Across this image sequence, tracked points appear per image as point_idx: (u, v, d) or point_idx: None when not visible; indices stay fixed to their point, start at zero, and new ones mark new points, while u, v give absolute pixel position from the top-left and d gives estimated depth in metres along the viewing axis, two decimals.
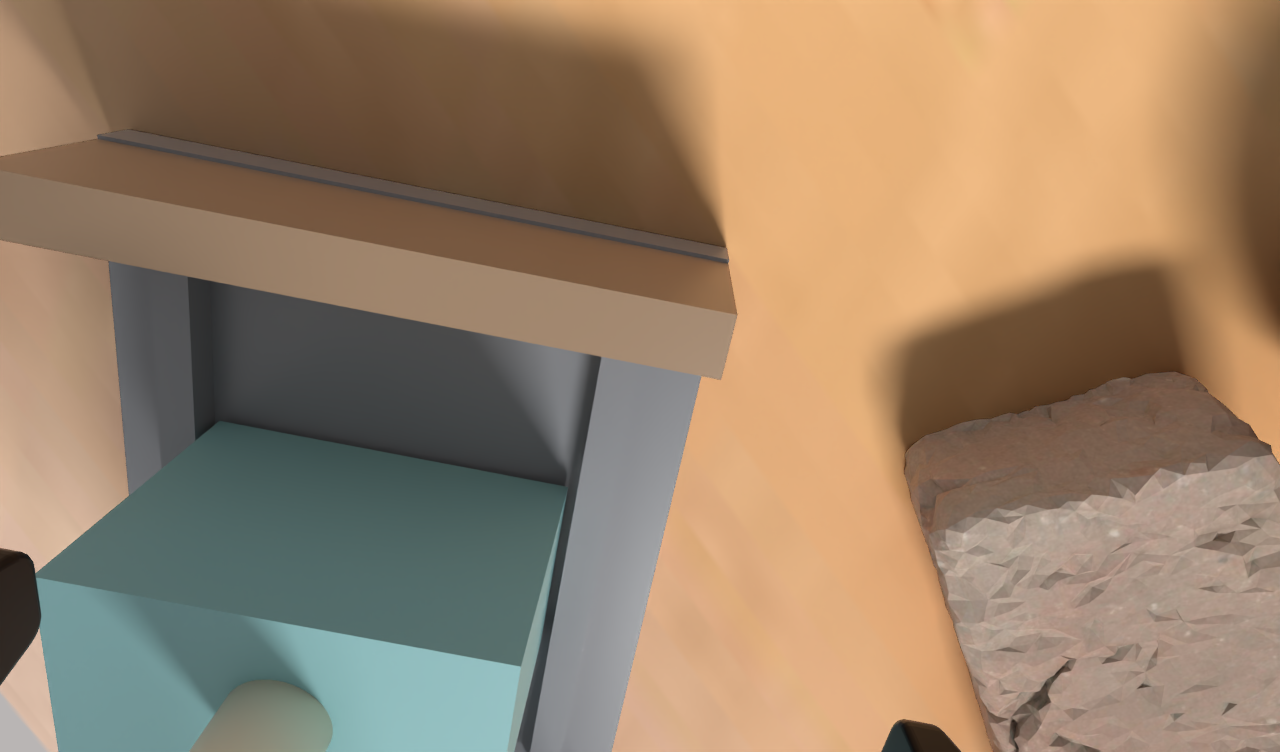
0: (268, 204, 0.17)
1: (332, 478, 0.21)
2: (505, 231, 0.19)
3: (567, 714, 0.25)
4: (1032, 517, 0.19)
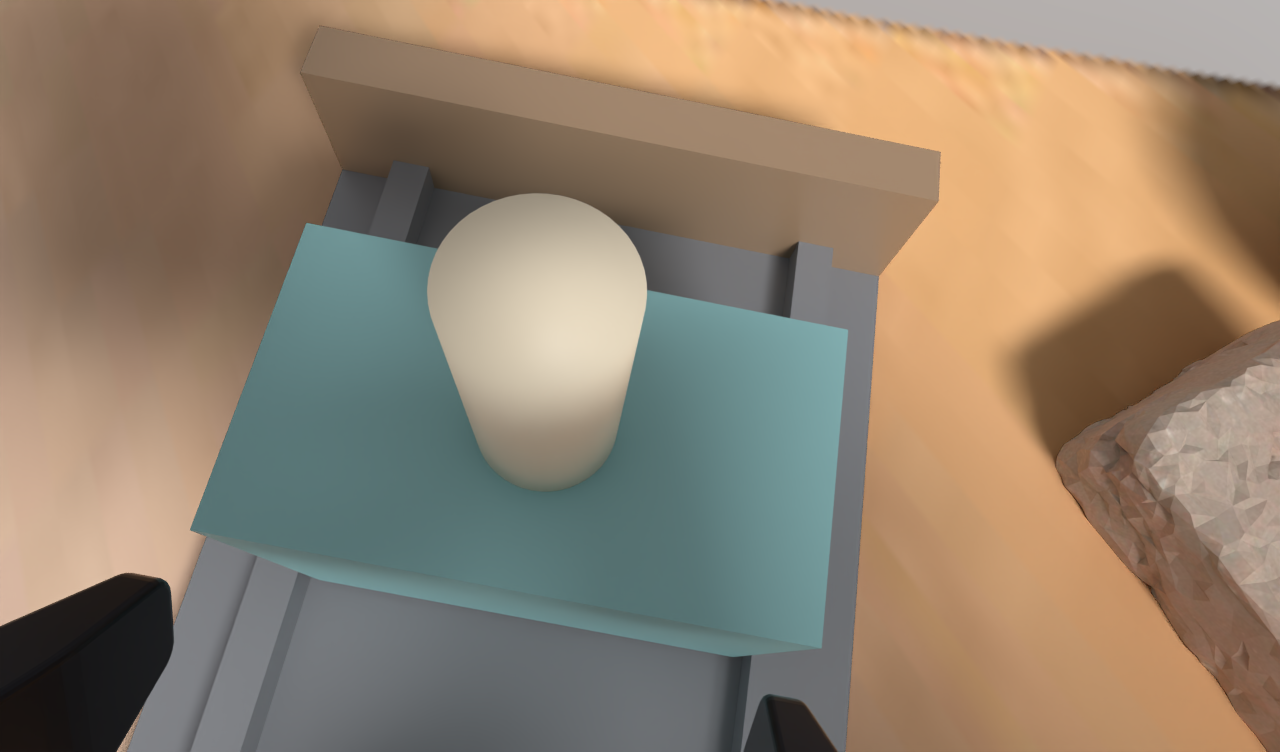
0: None
1: None
2: None
3: None
4: (1214, 399, 0.20)
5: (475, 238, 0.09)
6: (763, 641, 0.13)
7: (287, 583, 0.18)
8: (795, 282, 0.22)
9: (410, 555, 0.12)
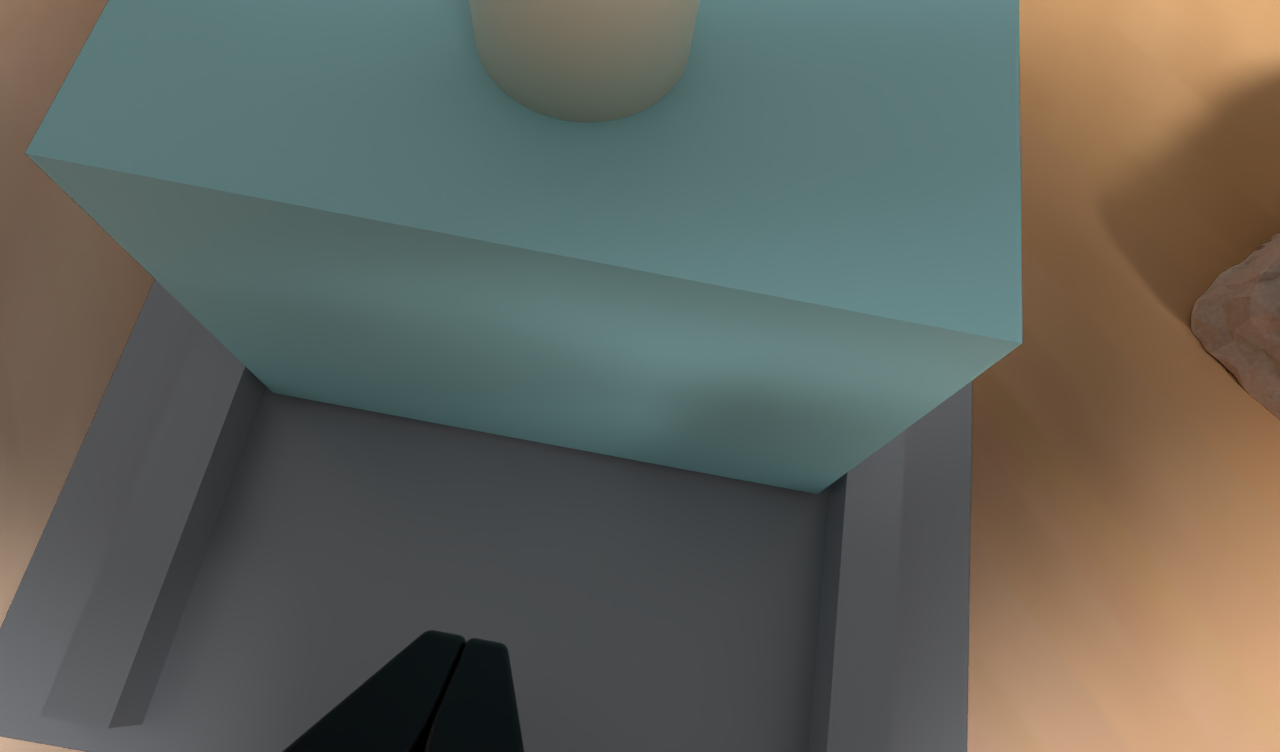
0: None
1: None
2: None
3: (893, 632, 0.13)
4: None
5: None
6: (917, 358, 0.09)
7: (228, 387, 0.14)
8: None
9: (373, 198, 0.08)
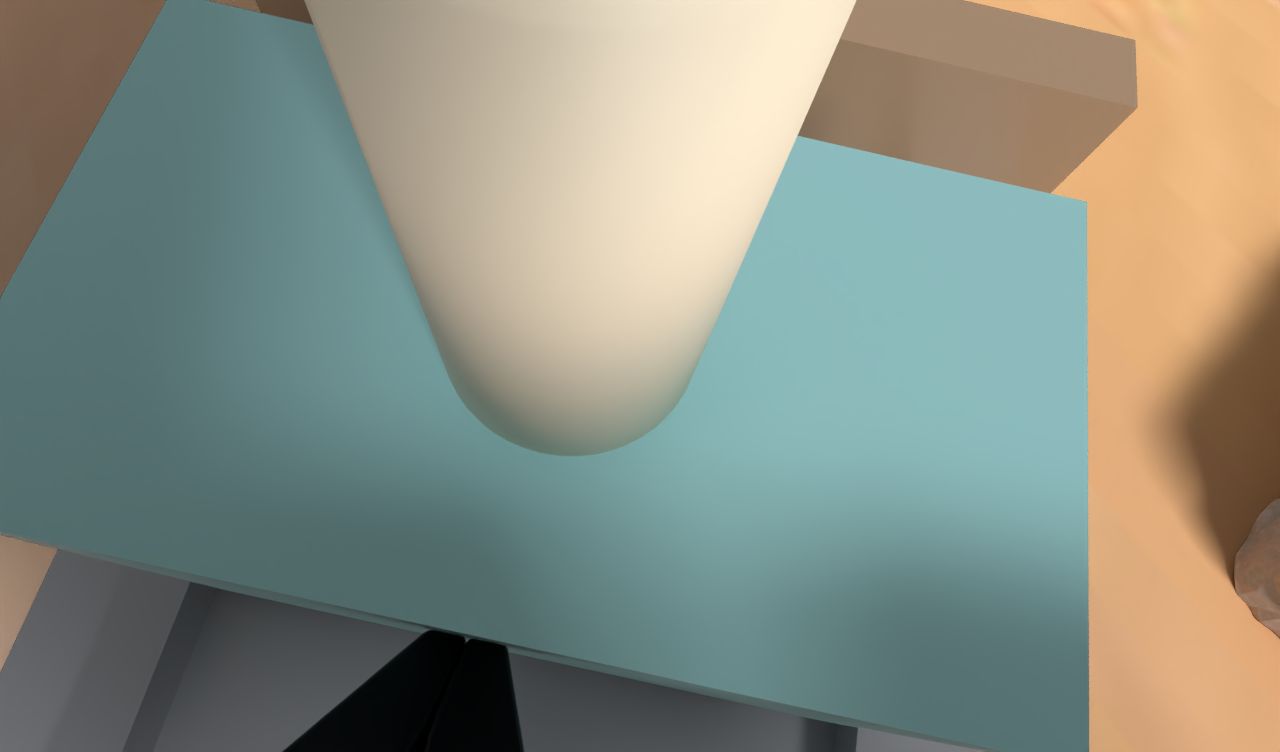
0: None
1: None
2: None
3: None
4: None
5: None
6: (956, 743, 0.07)
7: (152, 648, 0.12)
8: None
9: (305, 567, 0.07)
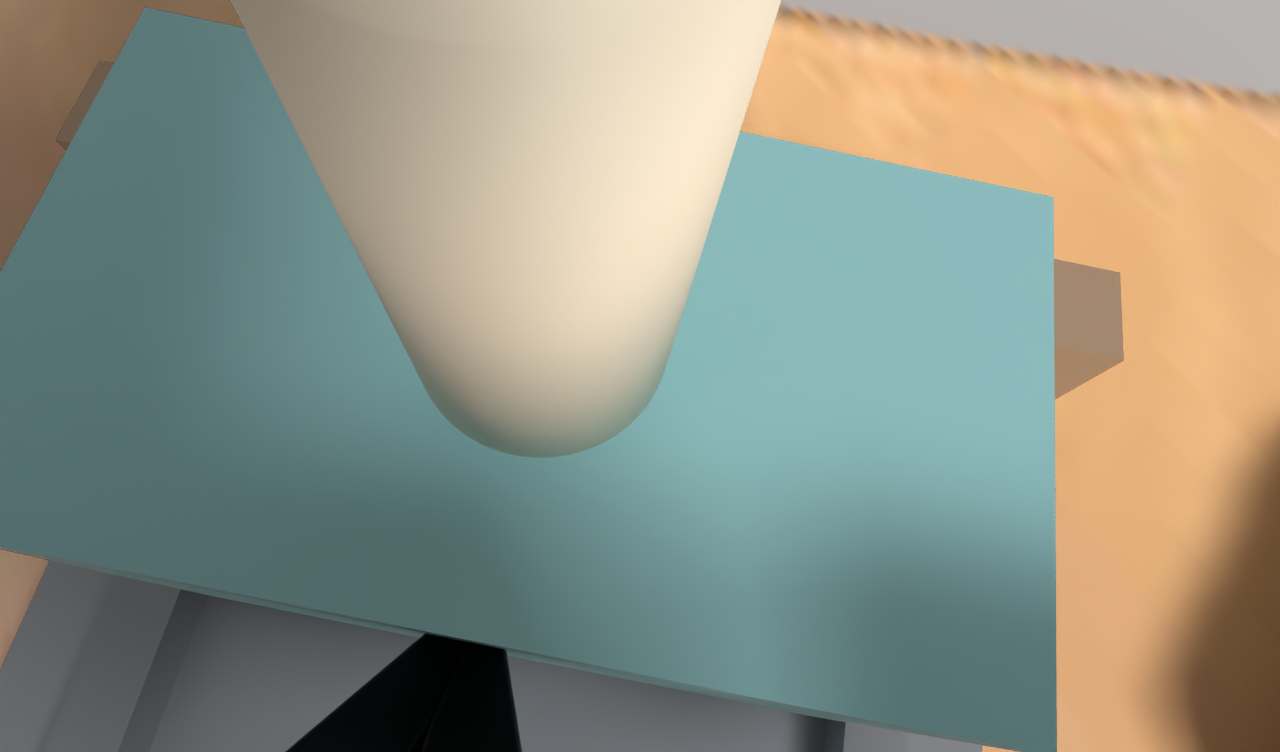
0: None
1: None
2: None
3: None
4: None
5: None
6: (929, 733, 0.07)
7: None
8: None
9: (282, 572, 0.07)
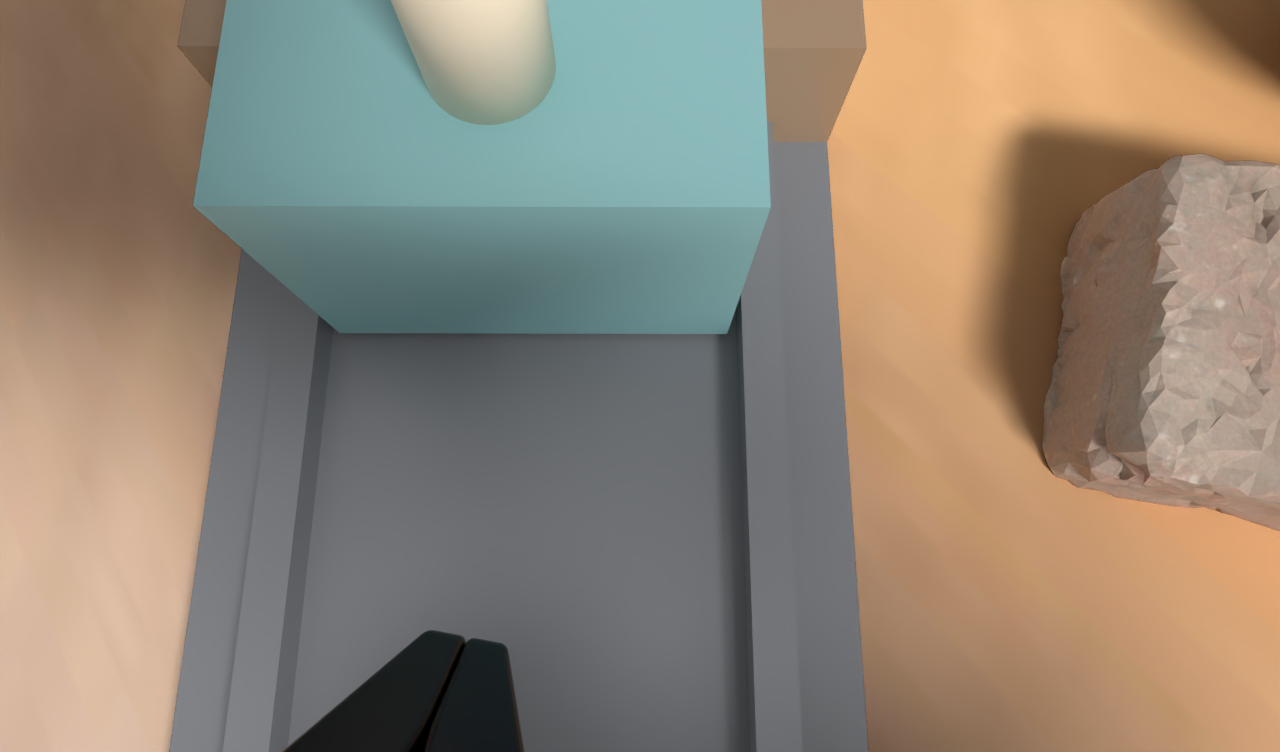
0: None
1: None
2: None
3: (795, 654, 0.18)
4: (1165, 363, 0.18)
5: None
6: (722, 226, 0.14)
7: (283, 561, 0.18)
8: None
9: (389, 194, 0.14)
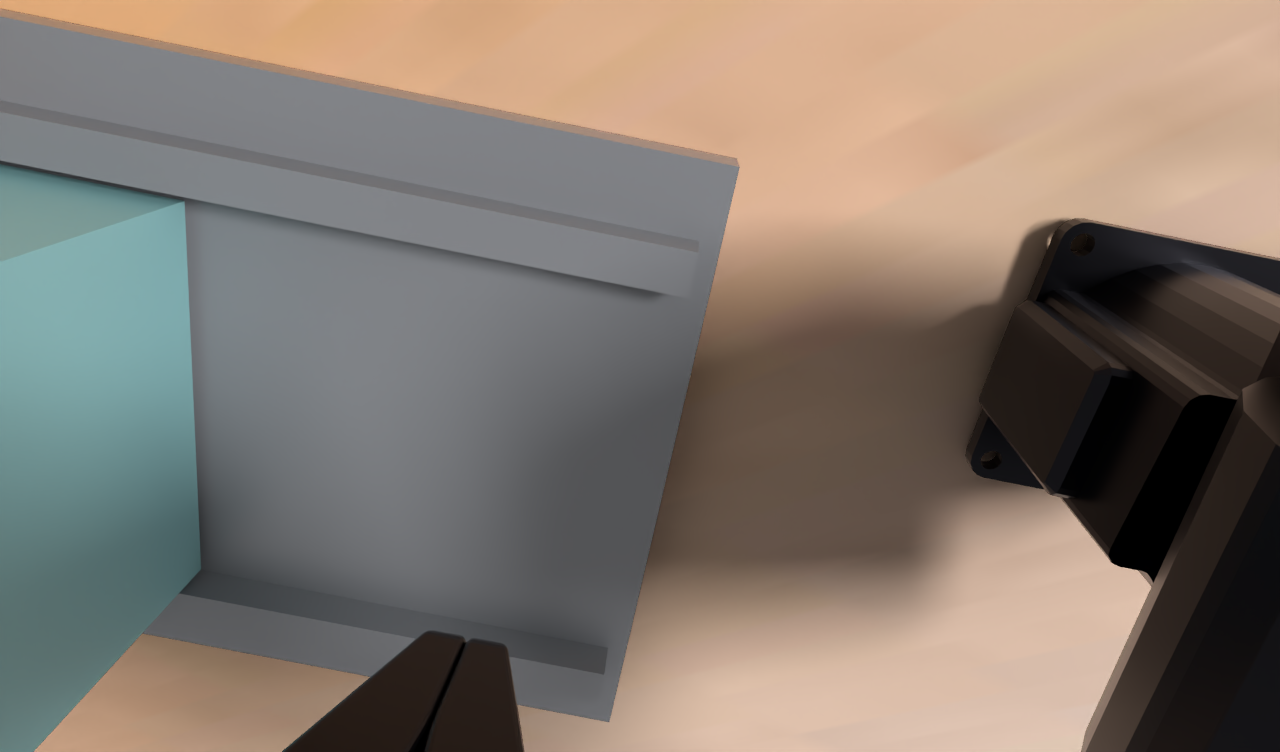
0: None
1: None
2: None
3: (538, 222, 0.16)
4: None
5: None
6: None
7: (403, 640, 0.21)
8: None
9: None
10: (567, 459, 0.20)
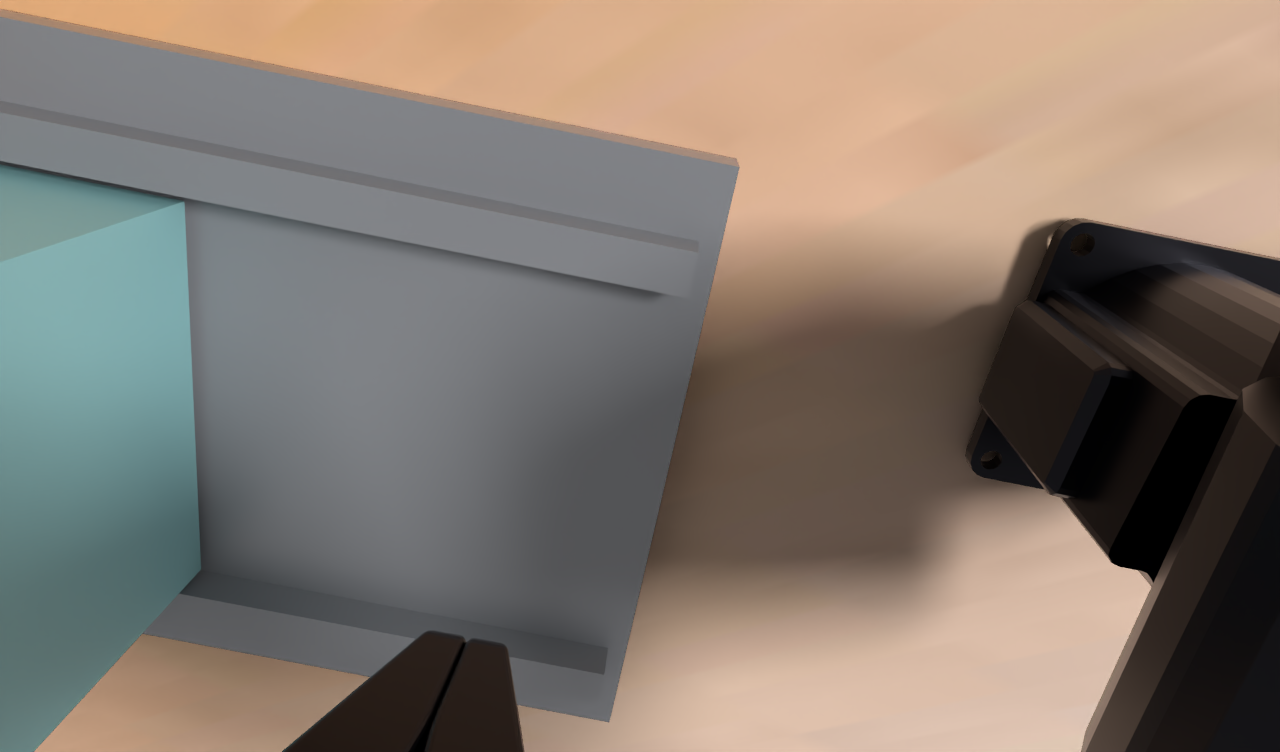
0: None
1: None
2: None
3: (537, 222, 0.16)
4: None
5: None
6: None
7: (403, 640, 0.21)
8: None
9: None
10: (567, 459, 0.20)
